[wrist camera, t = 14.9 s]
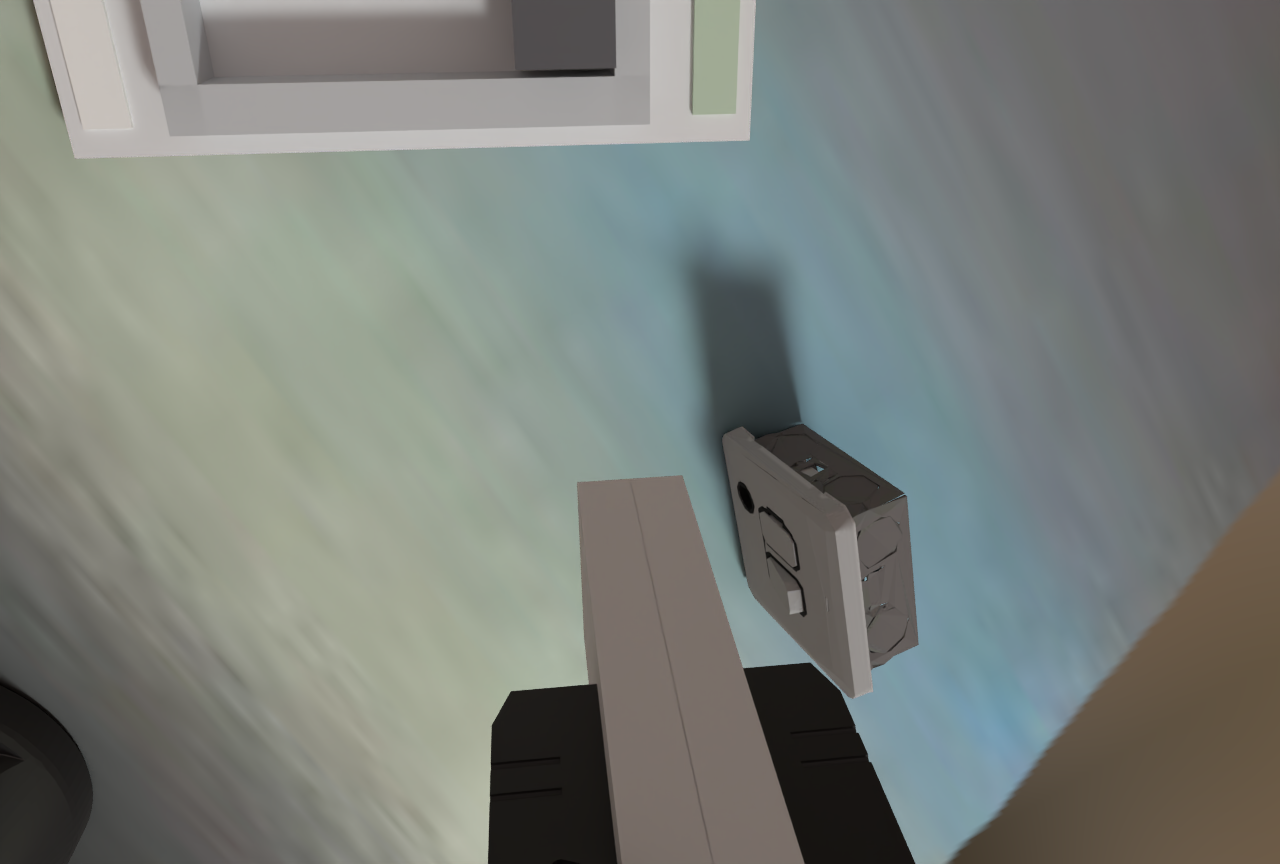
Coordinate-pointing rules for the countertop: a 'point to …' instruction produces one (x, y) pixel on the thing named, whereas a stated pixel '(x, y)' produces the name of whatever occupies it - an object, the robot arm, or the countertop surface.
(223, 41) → the panel
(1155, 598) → the countertop surface
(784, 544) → the electrical switch
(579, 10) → the block
